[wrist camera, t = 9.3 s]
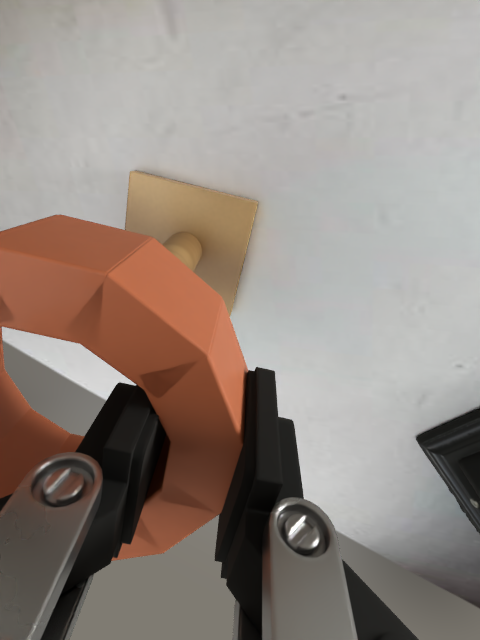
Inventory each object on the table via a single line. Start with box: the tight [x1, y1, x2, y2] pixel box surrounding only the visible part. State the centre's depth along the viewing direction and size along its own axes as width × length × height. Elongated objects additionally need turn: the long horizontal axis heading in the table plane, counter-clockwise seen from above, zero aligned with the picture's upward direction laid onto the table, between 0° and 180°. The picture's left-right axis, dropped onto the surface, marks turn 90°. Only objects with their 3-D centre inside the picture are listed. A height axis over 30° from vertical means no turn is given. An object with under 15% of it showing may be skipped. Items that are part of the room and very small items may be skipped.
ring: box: [0, 215, 248, 561], centre depth 9 cm, size 9×9×3 cm
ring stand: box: [125, 171, 258, 317], centre depth 20 cm, size 8×8×8 cm
